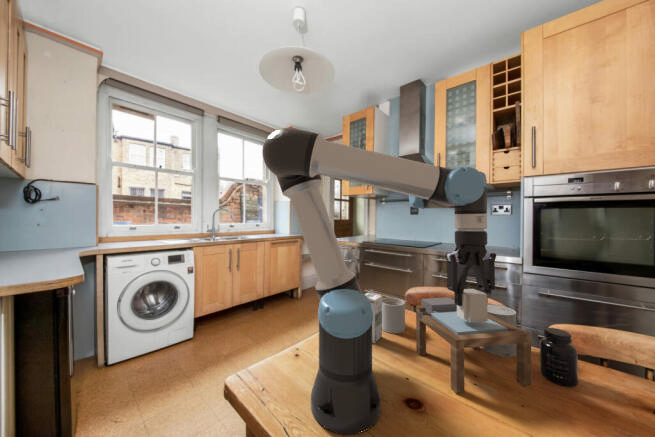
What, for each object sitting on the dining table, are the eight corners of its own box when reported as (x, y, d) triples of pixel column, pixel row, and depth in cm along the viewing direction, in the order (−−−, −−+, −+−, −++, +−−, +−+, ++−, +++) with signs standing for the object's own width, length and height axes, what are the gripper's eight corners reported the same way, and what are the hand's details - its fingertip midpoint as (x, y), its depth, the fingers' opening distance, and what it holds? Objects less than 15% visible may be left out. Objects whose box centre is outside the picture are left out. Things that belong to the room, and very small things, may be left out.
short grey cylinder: (517, 361, 68) (516, 317, 68) (477, 350, 73) (477, 310, 73) (516, 346, 75) (515, 307, 75) (480, 337, 81) (480, 301, 81)
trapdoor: (457, 342, 59) (456, 326, 59) (415, 311, 79) (415, 299, 79) (508, 338, 61) (508, 322, 61) (454, 308, 81) (454, 297, 81)
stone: (456, 314, 66) (456, 289, 66) (473, 313, 66) (472, 288, 66) (470, 322, 61) (469, 295, 61) (487, 321, 61) (487, 294, 61)
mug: (398, 336, 82) (398, 307, 82) (374, 327, 88) (374, 301, 89) (411, 325, 90) (411, 299, 90) (388, 318, 96) (388, 294, 97)
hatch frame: (456, 394, 55) (456, 333, 55) (416, 351, 72) (416, 305, 73) (531, 385, 57) (531, 327, 58) (475, 346, 75) (474, 302, 75)
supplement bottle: (541, 367, 65) (540, 323, 65) (577, 379, 60) (577, 331, 60) (539, 379, 60) (538, 331, 60) (578, 393, 55) (577, 341, 55)
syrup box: (367, 332, 85) (366, 292, 85) (382, 337, 81) (382, 295, 81) (359, 339, 80) (359, 296, 80) (375, 344, 77) (375, 299, 77)
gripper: (448, 231, 59) (449, 325, 59) (512, 230, 61) (513, 320, 61) (431, 229, 66) (432, 313, 66) (488, 229, 69) (489, 309, 69)
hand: (471, 316), depth 64 cm, fingers closed on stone, 5 cm apart
